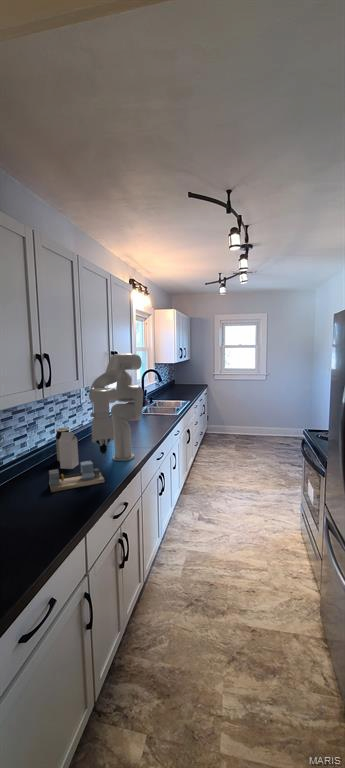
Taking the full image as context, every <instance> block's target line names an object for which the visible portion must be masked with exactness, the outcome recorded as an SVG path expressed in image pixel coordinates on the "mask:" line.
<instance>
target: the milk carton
mask: <svg viewBox="0 0 345 768" xmlns="http://www.w3.org/2000/svg"><path fill="white" fill-rule="evenodd" d="M59 454H60V461H59V464H60V469H65V470H73V469H75V468H76V467H77V466H79V464H80V461H79V447H78V437H76V435H75V433H74V432H72V431H71V432H70V431H69V432H61V437H60V439H59Z"/></svg>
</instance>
